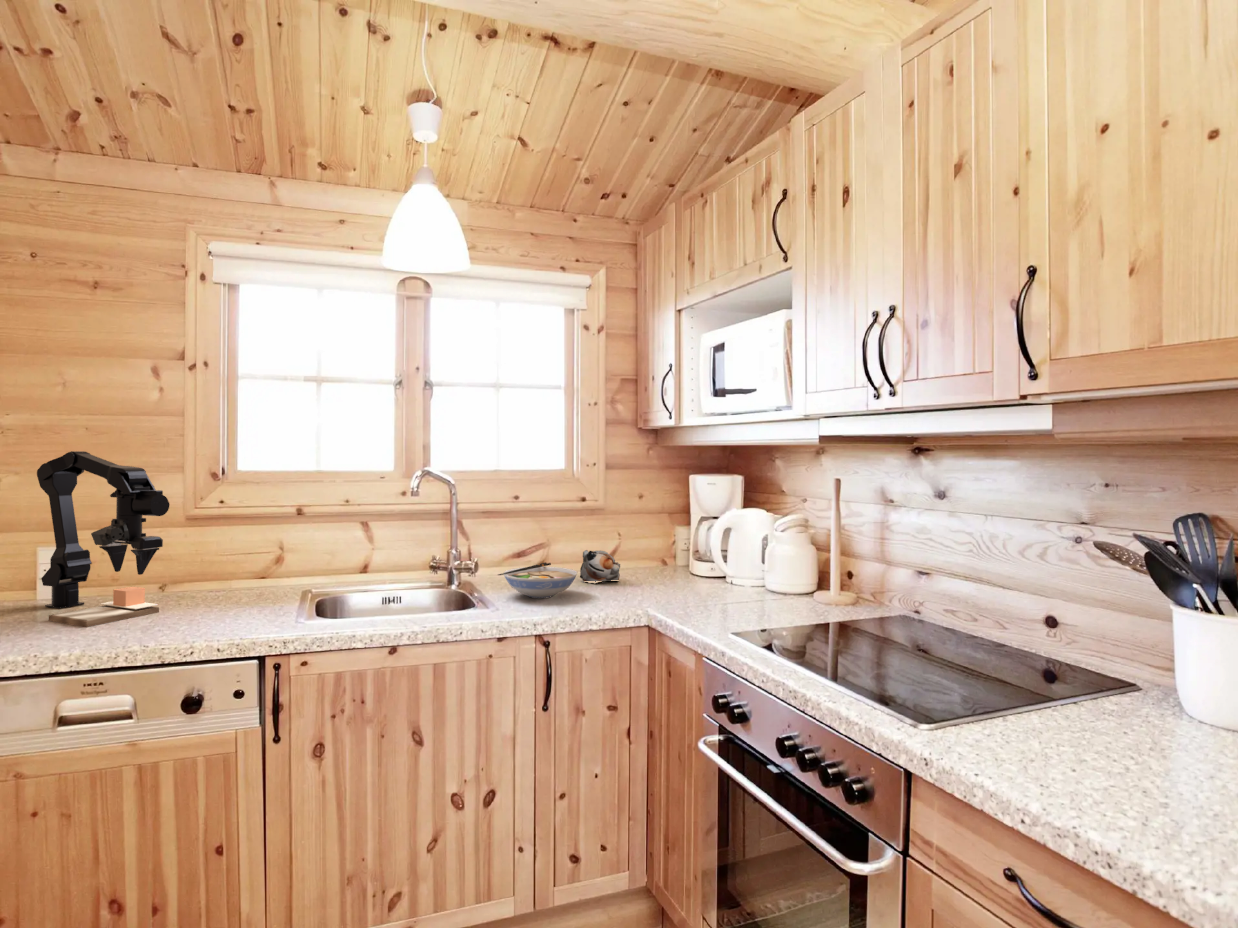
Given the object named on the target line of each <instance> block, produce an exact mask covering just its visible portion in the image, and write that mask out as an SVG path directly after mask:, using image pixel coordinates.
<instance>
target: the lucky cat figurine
mask: <svg viewBox="0 0 1238 928" xmlns="http://www.w3.org/2000/svg"><path fill="white" fill-rule="evenodd" d="M620 569H621V563H620V562H618V561H616V559H615V557H614V556H612V555H611V554H609V553H608V552H607V551H605V550H588V549H586V550H584V551H582V563H581V566H580V570H579V572H580V573H579V574H580V575H579V578H580V579H582V581H583V580H584V581H595V582H596V581H611V580H619V581H620V576H621V575H620Z"/></svg>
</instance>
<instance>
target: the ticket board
mask: <svg viewBox="0 0 1238 928" xmlns="http://www.w3.org/2000/svg"><path fill="white" fill-rule="evenodd" d="M159 612H160V606H150V607H145V608H140V609H129V608H122V607H116V606H109V605H96V606H92V607H91V606H90V607H88V608H87V607H86V608H80V609H75V610H70V611H65V612H59V613H58V612H57V613H52V614H50V615H48V621H49V622H53V623H61V624H65V625H66V624H67V625H73V626H78V627H84V628H88V627H93V626H98V625H104V624H107V623H112V622H113V623H114V622H120V621H122V620H123V621H124V620H127V619H132V618H136V617H143V616H146V615H147V616H149V615H153V614H156V613H159Z"/></svg>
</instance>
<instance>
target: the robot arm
mask: <svg viewBox="0 0 1238 928" xmlns="http://www.w3.org/2000/svg"><path fill="white" fill-rule="evenodd" d="M84 472H87V473H91V474H92V475H95V476H98V477H101V478H103V479H105V480H106V482H107V484H108V485H110V486H111V487H113V488H115V489H116V490H115V491H113V492H111V494H109V497H110V498H116V503H115V504H116V513H115V514H116V515H115V516H116V517H115V518H112V519H111V523H110V524H109V525H108V526H107V525H106V526H104V527H102V528H100V529H98V530H95V531H93V532H91V537H92V540H93V543H94V545H95V546H98V547H99V549H102V550H103V551H105V552H106V553H107V555H108V556H109V559H110V562H111V565H112V567H113V570H114V572H116V573H118V572H121V570H122V567H123V563H124V560H125V556H126V552H127V548H128V546H129V545H130V546H131V548H132V549H130V551H131V552H132V553H133V555H135V561H136V562H135V563H136V564H135V565H136V573H137V575H140V576H141V575H144V573H145V570H146V569H147V567H148V566H149V564H150V562H151V560H152V559H153V557H154V556H155V555H156V552H157V551H160V548H163V546H164V539H162V538H161V536H157V535H147V533H144V532H143V523H146V522H147V518H146V517H143V516H148V517H149V516H151V517H163V516H164V515H166V514H167V513H168V512H169V509H170V501H169V499H168V498H167V496H165V495H164V494H163V493H164V491H163V490H162V489H161V490H159V489H158V490H156V488H155V486H154V484H153V483H152V481H151V478H149V476H148V474H147V471H146V470H145V468H142V467H137V466H132V465H131V466H130V465H120V464H117V463H114V462H112V461H110V460H109V461H108V460H106V459H104V458H101V457H98V456H97V455H93V454H91V453H90V452H88V451H79V450H78V451H77V450H76V451H75V450H72V451H68V452H66V453H65V454H63V455H62V456H59V457H56V458H54V459H52V460H48V461H47V462H46V463H43V464H41V465H40V466H39V467H38V469H37V470H36V476H37V477H36V478H37V480H38V484H39V488H41V490H43V491H44V493H45V494H46V495H47V496H48V500H49V506H50V513H51V521H52V528H53V534H54V542H55V549H54V552H53V553H52V555H51V557H50V559H49V560H50V565H49V566H50V567H49V568H48V570H46V572H45V573H44V574H43V576H42V577H41V582H42V586H44V587H45V586H46V587H51V603H49V604H45V606H44V607H46V608H52V609H58V610H59V609H64V608H65V609H67V608H70V607H76V606H77V607H78V606H82V605H85V602H82V601H80V600H79V599H80V596H79V595H80V592H79V591H80V589H79V585H80V584H79V583H83V582H87V579H88V578H89V574H90V571H91V565H92V564H93V563H92V561H91V554H90V553H91V552H90V550H89V549H84V548H83V547H82V546H81V545H80V541H79V535H78V528H77V522H76V514H75V508H74V501H73V492H74V490H75V488H76V487H77V485H78V477H80V475H81V474H83V473H84Z"/></svg>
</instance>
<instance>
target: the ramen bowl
mask: <svg viewBox="0 0 1238 928" xmlns="http://www.w3.org/2000/svg"><path fill="white" fill-rule="evenodd" d="M551 565H552V564H551V562H542V563H538V564H533V565H530V566H525V567H518V568H512V569H507V570H505V571H504V572H503V573H500V574H497V576H502V575H503V576H504V579H505V580H506V581H507V583H508V585H510V586H511V588H513V589H514V591H516V592H518V593H520V594H522V595H525V596H528V597H529V598H531V597H532V598H533V599H547V598H546V597H549V598H551V597H550V596H552V597H554V596H555V595H558V594H560V593H562V592H564V591H566V590H567V589H568V588H569V587H570V586H571V585H572V584H573V583H574V581H575V580H576V578H577V575H578V571H576V570H575V569H572V568H566V567H556V566H551Z"/></svg>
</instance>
